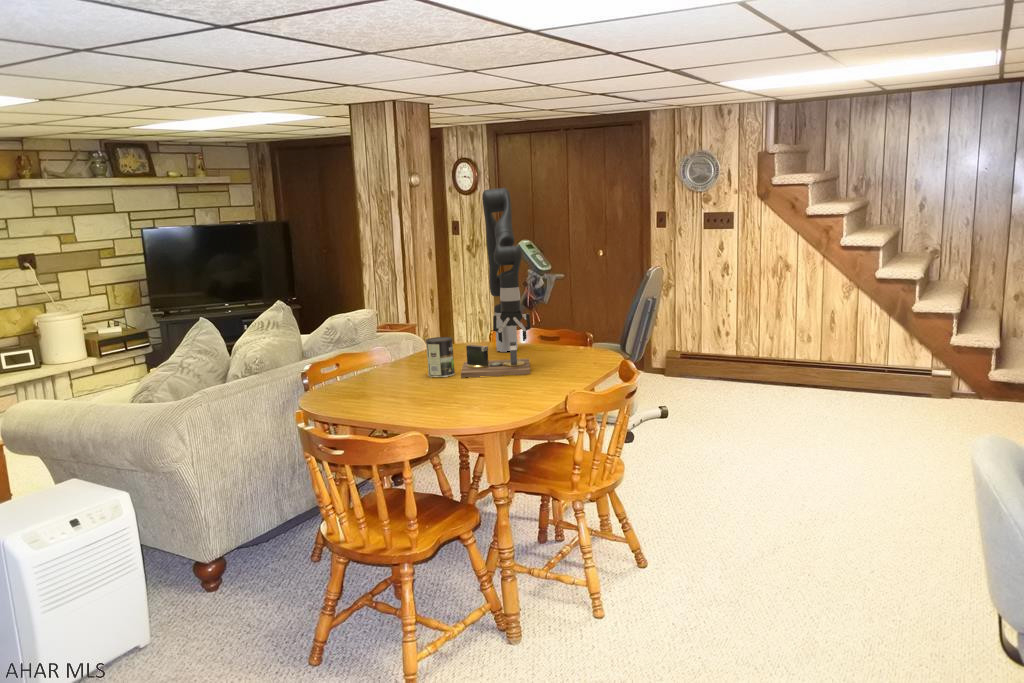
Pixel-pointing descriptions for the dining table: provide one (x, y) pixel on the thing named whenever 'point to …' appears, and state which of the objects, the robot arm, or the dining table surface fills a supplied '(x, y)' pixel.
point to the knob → (513, 357)
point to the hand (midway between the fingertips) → (512, 341)
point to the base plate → (496, 369)
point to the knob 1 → (477, 356)
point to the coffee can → (440, 357)
